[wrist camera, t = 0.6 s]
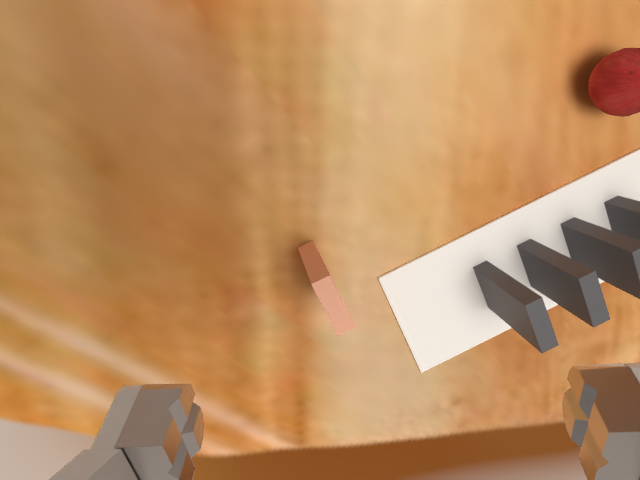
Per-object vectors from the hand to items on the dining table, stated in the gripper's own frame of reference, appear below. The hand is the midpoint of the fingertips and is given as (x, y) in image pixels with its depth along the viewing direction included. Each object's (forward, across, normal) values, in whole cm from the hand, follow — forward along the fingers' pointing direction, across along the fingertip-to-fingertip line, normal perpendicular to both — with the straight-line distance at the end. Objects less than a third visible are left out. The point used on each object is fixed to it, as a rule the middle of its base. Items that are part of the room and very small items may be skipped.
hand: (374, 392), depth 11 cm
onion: (+43, -22, +9) cm, 49 cm away
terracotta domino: (+32, +6, +20) cm, 39 cm away
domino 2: (+36, -16, +24) cm, 46 cm away
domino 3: (+38, -20, +23) cm, 49 cm away
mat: (+37, -17, +24) cm, 47 cm away
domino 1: (+34, -11, +26) cm, 45 cm away
